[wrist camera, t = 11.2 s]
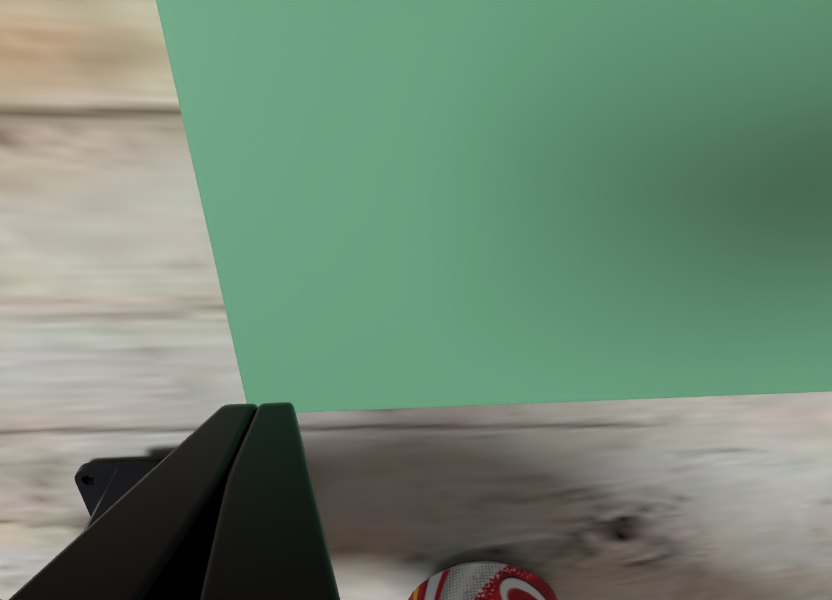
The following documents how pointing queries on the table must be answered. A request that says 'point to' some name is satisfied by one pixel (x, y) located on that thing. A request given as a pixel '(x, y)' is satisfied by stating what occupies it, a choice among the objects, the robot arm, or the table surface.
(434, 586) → the soda can
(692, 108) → the block
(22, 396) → the table surface
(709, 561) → the table surface
